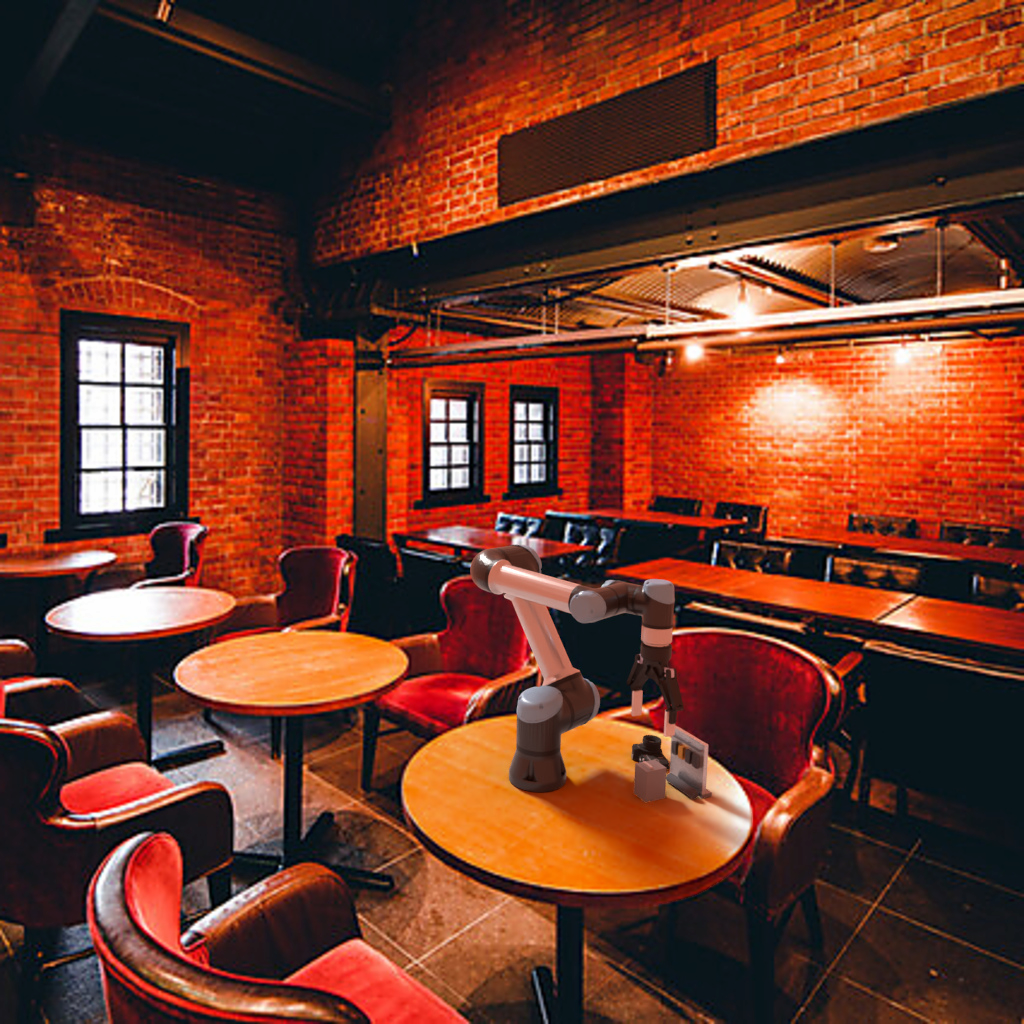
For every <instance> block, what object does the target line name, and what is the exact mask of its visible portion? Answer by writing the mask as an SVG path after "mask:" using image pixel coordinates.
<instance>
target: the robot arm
mask: <svg viewBox="0 0 1024 1024" xmlns="http://www.w3.org/2000/svg"><path fill="white" fill-rule="evenodd" d="M470 563H471V564H470V569H469V570H470V577H471V580H472V581H473V583H474V584H475V585H476V586H477V587H478V588H479V589H481V590H483V591H485V592H487V593H491V594H494V595H503V597H504V598H505V599H507V600H509V601H511V603H512V605H513V609H514V611H515V613H516V615H517V617H518V620H519V623H520V625H521V627H522V629H523V632H524V635H525V637H526V639H527V641H528V644H529V646H530V648H531V649H530V650H531V651H532V654H533V656H534V658H535V661H536V664H537V665H538V668H539V670H540V673H541V675H542V677H543V682H542V685H540V686H533V687H529V688H527V689H525V690H524V691H522V692H521V693H520V695H519V696H518V700H517V707H516V744H515V745H516V747H515V752H514V754H513V757H512V760H511V762H510V763H511V764H510V766H509V768H508V779H509V782H510V783H511V784H512V786H514V787H516V788H518V789H520V790H524V791H527V792H533V793H546V792H547V793H548V792H551V791H552V792H553V791H556V790H558V789H561V788H562V787H563V786H564V785H566V782H567V769H566V766H565V762H564V759H563V755H562V752H561V750H562V749H561V748H562V747H561V745H562V744H561V743H562V735H563V734H564V733H567V732H569V731H572V730H574V729H576V728H578V727H580V726H584V725H586V724H587V723H588V722H590V721H592V720H593V719H594V718H595V717H596V716H597V714H598V713H599V708H600V707H601V705H600V704H601V700H600V699H601V698H600V693H599V691H598V688H597V686H596V685H595V684H594V683H593V682H592V681H590V680H589V679H587V678H584V677H583V674H582V673H581V670H580V669H577V668H575V667H573V665H572V663H571V661H570V658H569V656H568V654H567V651H566V649H565V647H564V643H563V642H562V640H561V638H560V635H559V633H558V630H557V628H556V626H555V624H554V621H553V619H552V616H551V615H550V611H549V610H548V608H547V607H549V608H552V609H555V610H558V611H561V612H564V613H568V614H571V616H572V617H573V619H575V620H576V621H577V622H578V623H581V624H589V623H590V624H592V623H596V622H598V621H601V620H604V619H608V618H611V617H614V616H618V615H621V614H631V615H634V616H641V633H640V634H641V635H640V636H641V637H640V640H641V643H640V653H638V654H635V656H634V663H633V665H632V667H631V670H630V671H629V672H630V673H629V675H628V677H627V680H626V685H627V686H630V690H631V698H630V699H631V711H630V713H631V714H630V716H632V717H637V716H642V714H643V692H644V691H643V690H642V689H643V686H644V685H645V684H646V682H647V681H648V680H649V679H651V680H652V681H654V682H655V684H656V685H657V686H658V687H659V690H660V692H661V695H662V698H663V700H664V704H665V706H666V708H667V709H664V722H663V723H664V724H663V725H664V726H663V736H664V737H666V738H667V737H672V736H673V735H675V725H676V723H677V717H678V712H679V711H684V708H685V707H684V702H683V698H682V694H681V690H680V686H679V681H678V673H677V672H678V671H677V668H675V667H674V668H670V667H669V665H668V664H669V661H670V660H671V659H672V652H673V651H672V649H673V646H672V644H671V643H672V642H673V626H674V610H675V601H676V599H675V585H674V584H673V582H672V581H669V580H666V579H658V578H650V579H647V580H645V581H644V583H643V585H640V584H637V583H631V582H626V581H622V580H619V579H618V580H614V579H608V580H605V582H604V583H603V584H602V585H601V587H597V588H594V587H593V588H592V587H589V586H585V585H582V584H579V583H575V582H572V581H570V580H569V581H567V580H565V579H562V578H556V577H554V576H550V575H546V574H543V573H542V570H541V569H542V568H543V566H542V565H543V564H542V560H541V558H540V556H539V554H538V552H537V551H536V550H535V549H533V548H532V547H531V546H529V545H526V544H510V545H506V546H499V547H491V548H486V549H483V550H481V551H480V552H478V553H476V555H475V556H474V557H473V559H472V561H471V562H470Z"/></svg>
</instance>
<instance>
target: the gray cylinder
mask: <svg viewBox="0 0 1024 1024" xmlns="http://www.w3.org/2000/svg"><path fill="white" fill-rule="evenodd" d="M666 782H667V783H669V784H670V785H672V786H674V787H675V788H676V789H677V790H679V791H680V792H682V793H684V794H685V795H686V796H688V797H689V798H690V799H691V800H696V799H697V798H698V797H699V796H698V791H697V790H696V789H694V788H693V787H691V786H690V785H688V784H687V783H686V782H684V781H683V780H681V779H680V778H678V777H677V776H675V775H674V774H672V773H670V772H669V773H668V774H666Z"/></svg>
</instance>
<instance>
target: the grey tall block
mask: <svg viewBox="0 0 1024 1024" xmlns="http://www.w3.org/2000/svg"><path fill="white" fill-rule="evenodd" d="M667 771H668V770H667V768H666V767H665V766H663V765H662V764H660V763H659V762H657V761H656V760H650V761H643V762H640V763H639V762H636V763H634V781H633V783H634V784H633V794H634V795H637V797H638V798H639V799H640V800H641V799H642V800H641V801H642V802H644V803H645V802H646V803H650V802H654V801H658V800H662V799H665V798H666V786H667V785H666V784H667V780H666V776H667ZM649 801H650V802H649Z"/></svg>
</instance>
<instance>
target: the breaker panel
mask: <svg viewBox="0 0 1024 1024" xmlns="http://www.w3.org/2000/svg"><path fill="white" fill-rule="evenodd" d="M708 760H709V744H708V743H706V742H705V741H703V740H701V739H699V738H698V737H696V736H695V735H693V734H691V733H690V732H688V731H686V730H685V729H684V728H681V727H680V726H677V725H676V724H675V735H673V736H671V742H670V759H669V773H672V774H674V775H675V776H677V777H678V778H680V779H681V780H683V781H684V782H686V783H687V784H688V785H690V786H691V787H693V788H694V789H696V790H697V791H698V797H699V798H700V799H705V798H709V797H712V796H713V792H712V791H710V790H709V789H707V780H708V779H707V777H708V762H709V761H708Z"/></svg>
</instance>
